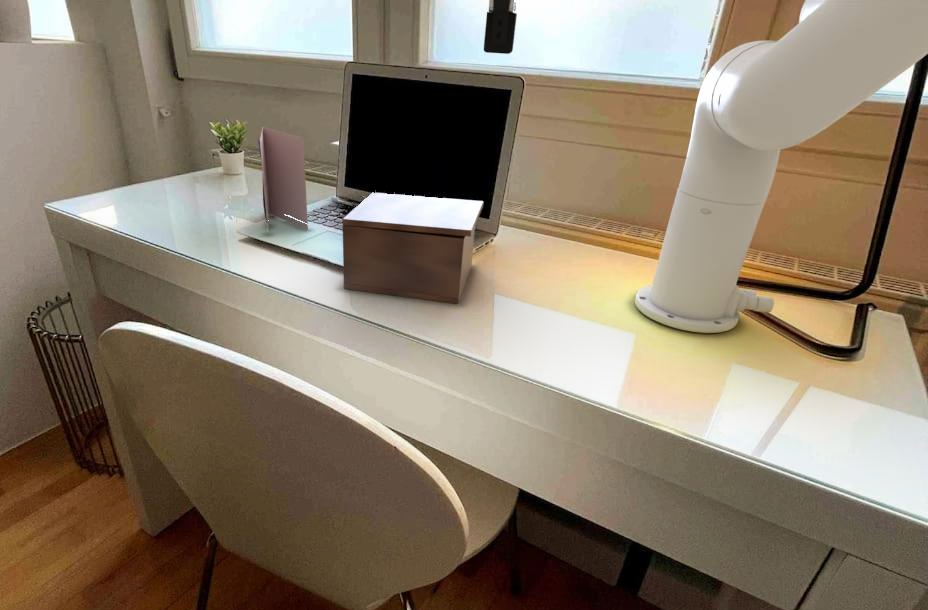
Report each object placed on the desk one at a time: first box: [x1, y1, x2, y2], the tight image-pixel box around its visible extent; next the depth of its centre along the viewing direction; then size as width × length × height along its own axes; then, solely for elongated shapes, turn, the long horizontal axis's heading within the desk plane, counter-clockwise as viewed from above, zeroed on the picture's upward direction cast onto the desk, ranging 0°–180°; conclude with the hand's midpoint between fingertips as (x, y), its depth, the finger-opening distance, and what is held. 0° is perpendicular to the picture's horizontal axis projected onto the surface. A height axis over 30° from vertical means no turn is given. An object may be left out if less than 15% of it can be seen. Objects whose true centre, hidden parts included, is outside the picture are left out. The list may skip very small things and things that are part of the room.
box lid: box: [342, 192, 484, 237], centre depth 76 cm, size 16×14×1 cm
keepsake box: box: [342, 224, 476, 305], centre depth 79 cm, size 16×14×9 cm
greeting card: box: [257, 126, 309, 233], centre depth 95 cm, size 11×7×15 cm, turn 11°
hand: (497, 52), depth 65 cm, fingers closed
